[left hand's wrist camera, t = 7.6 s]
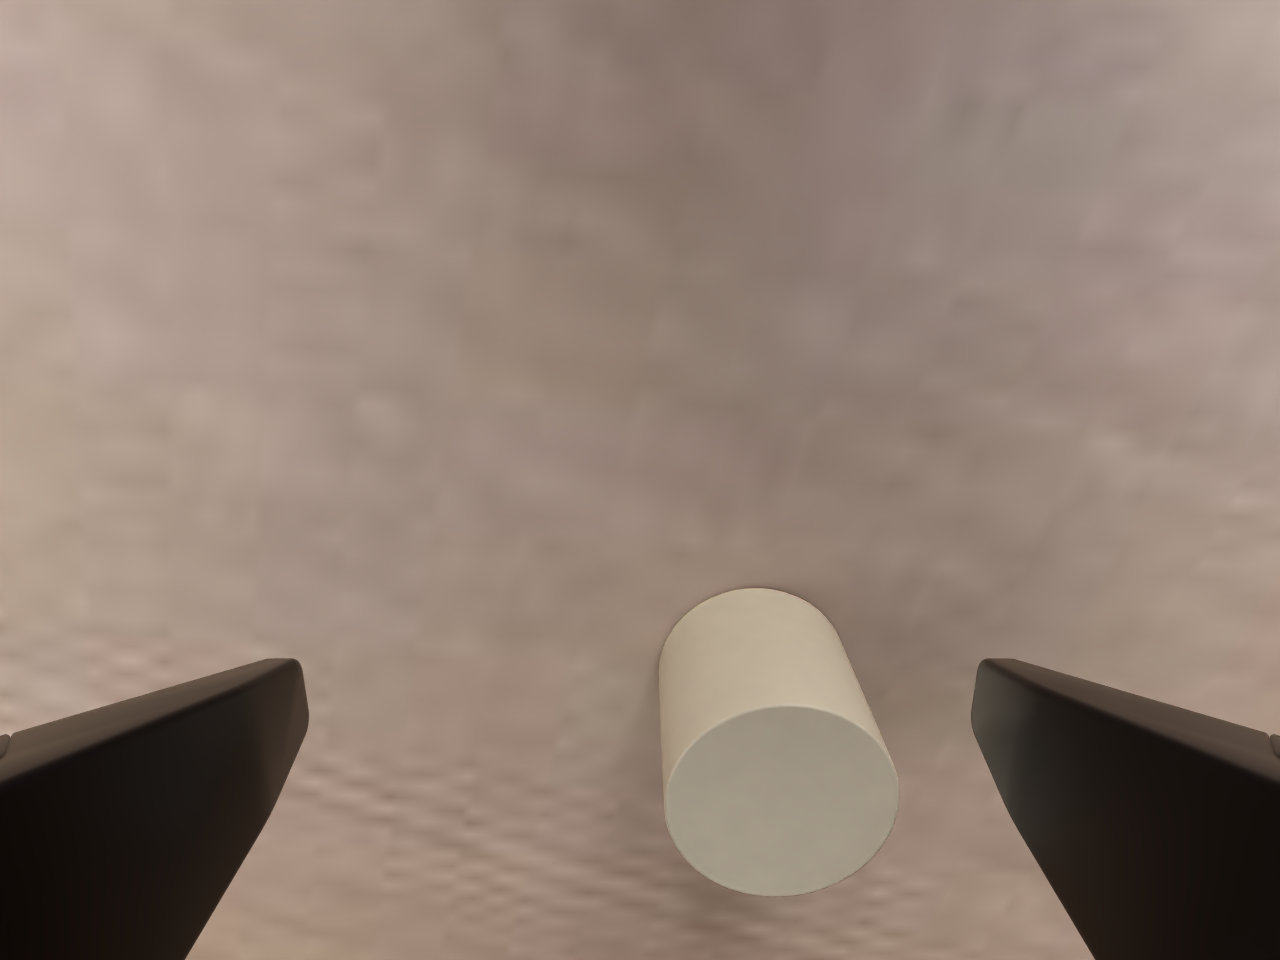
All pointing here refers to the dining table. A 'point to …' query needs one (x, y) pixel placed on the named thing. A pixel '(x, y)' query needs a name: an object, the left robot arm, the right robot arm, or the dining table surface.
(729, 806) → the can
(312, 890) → the dining table surface
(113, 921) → the left robot arm
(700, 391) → the dining table surface
